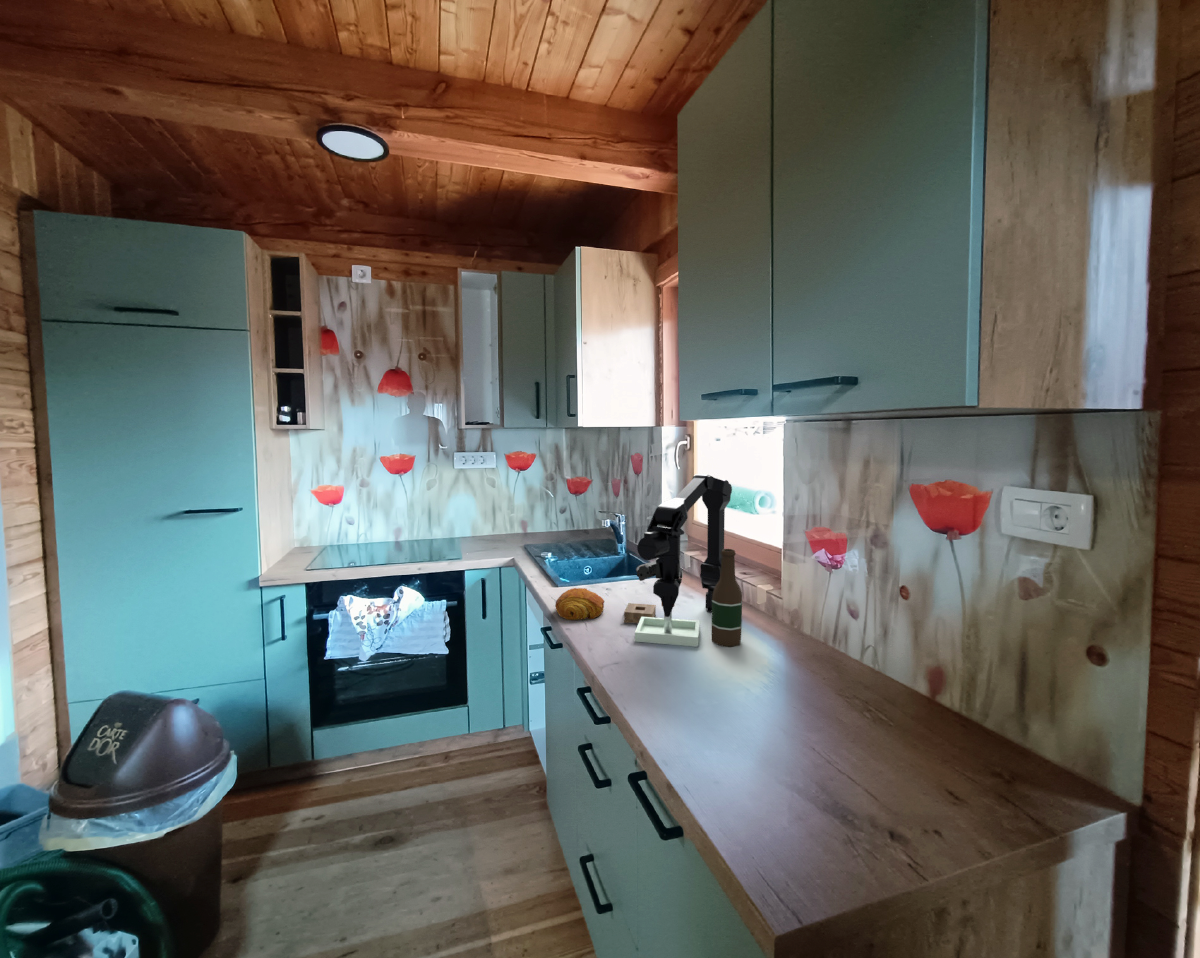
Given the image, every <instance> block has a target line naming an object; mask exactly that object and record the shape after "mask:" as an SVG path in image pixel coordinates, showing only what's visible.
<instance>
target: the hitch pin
mask: <svg viewBox="0 0 1200 958" xmlns="http://www.w3.org/2000/svg"><path fill="white" fill-rule="evenodd" d="M675 604H676V603H675ZM675 604H674V606H673V608H674V607H675ZM661 607H662V608H663V606H662V605H661ZM672 612H673V610H672V611H671V614H670V616H669V617H665V615H664V614H663V618H664V633H667V634H672V619H673V614H672Z"/></svg>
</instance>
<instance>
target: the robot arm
mask: <svg viewBox="0 0 1200 958" xmlns="http://www.w3.org/2000/svg"><path fill="white" fill-rule="evenodd" d="M732 490H733V486H732V484H731V483H729V481H728V480H727V479H720V478H717V477H714V476H711V475H710V474H701V473H699V474H698V473H697V474H694V475H693V476H692V479H691V480H690V482H688V483H687V485H686V486H685V487H683V489H682V490H681V491H680V492H678V493H677V495H676V496H674V497H673V498H672V499H670V500H666V501H663V502H662V503H661V504H659V505H658V506H657V507H656V508H655V510H654V513H653V515H652V517H651V520H650V522H649V525H648V527H647V530H646V532H644V533H643V538H640V539H639V541H638V544H637V546H636V547H637V552H638V555H639V557H640V558H641V559H642V560H644V561H649V562H647V563H643V564H640V565H638V566H637V567H636V568H635V570H636V571H635V572H636V576H637V577H638V580H639V581H640V582H643V581H645V580H646V579H650V578H653V577H655V579H657V580H655V582H654V583H653V590H652V591H653V594H654V595H655V596H657V597H659V598H660V601H661V607H662V606H663V607H662V610H663V616H664V615H665V617H669V616H670V614H671V611H672V612H673V609H674V607H675V606H674V604H676V601H677V599H678V597H679V594H680V586H681V583H682V581H683V577H684V575H683V573H684V571H683V568H682V567H681V557H682V556H681V536H682V535H685V531H684V530H683V529H682V527H683V526H684V525H685V523H686V521H687V520H688V512H689V510H690V509H691V508H692V507H693V506H694V505H695V504H696V503H697V502H698V500H699V499H701V500H702V502H703V504H704V506H705V508H706V509H707V533H706V536H707V540H706V541H707V542H706V543H707V544H706V545H707V549H706V551H707V552H706V553H707V555H706V558H705V560H704V562H702V563H701V564H700V567H699V568H700V573H699V574H700V575H699V577H700V581H701V586H702V587H701V588H702V589H705V590H706V589H707V591H706V592H705V608H706V611H707V612H708V613H709V612H710V613H712V596H713V591H714V589H715V586H716V584H717V583H718V582H719V579H720V574H721V562H722V555H721V552H722V550H723V549H725V517H726V516H725V509H726V508H727V506H728V505H729V503H730V502H731V496H732V492H733V491H732ZM651 560H653V561H651ZM673 606H674V607H673Z"/></svg>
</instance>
